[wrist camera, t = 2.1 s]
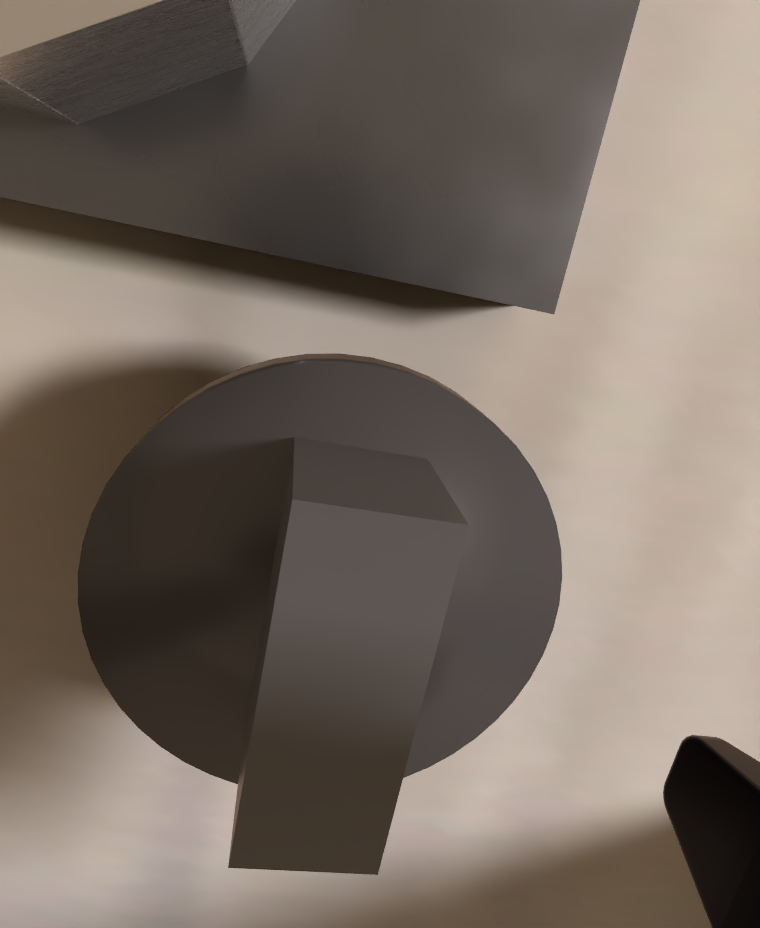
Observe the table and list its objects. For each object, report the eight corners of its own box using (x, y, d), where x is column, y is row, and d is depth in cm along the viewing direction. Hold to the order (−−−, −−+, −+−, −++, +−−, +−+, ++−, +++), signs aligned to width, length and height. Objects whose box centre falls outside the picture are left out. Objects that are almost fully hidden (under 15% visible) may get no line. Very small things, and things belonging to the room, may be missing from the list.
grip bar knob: (121, 647, 14) (-6, 928, 8) (156, 298, 12) (17, 339, 6) (452, 681, 15) (544, 944, 9) (536, 371, 13) (724, 464, 7)
